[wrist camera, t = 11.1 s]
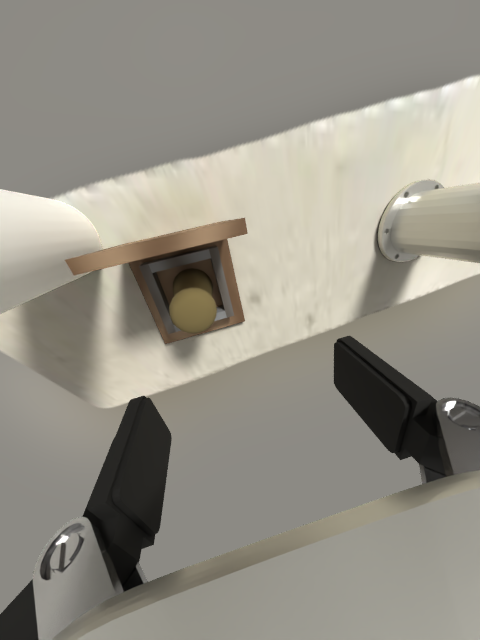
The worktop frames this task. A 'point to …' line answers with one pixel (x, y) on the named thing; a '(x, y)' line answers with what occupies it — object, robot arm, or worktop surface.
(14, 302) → the cylinder container
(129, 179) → the worktop surface
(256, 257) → the worktop surface
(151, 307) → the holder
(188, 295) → the cork
